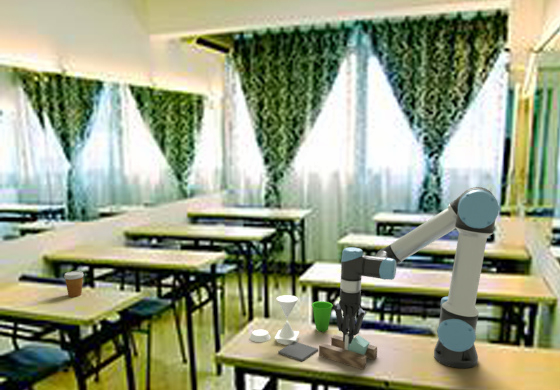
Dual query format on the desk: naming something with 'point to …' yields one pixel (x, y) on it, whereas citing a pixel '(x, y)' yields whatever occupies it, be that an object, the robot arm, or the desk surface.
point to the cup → (322, 315)
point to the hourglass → (286, 333)
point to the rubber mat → (298, 351)
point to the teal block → (359, 345)
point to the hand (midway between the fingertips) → (347, 350)
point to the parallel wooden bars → (346, 353)
